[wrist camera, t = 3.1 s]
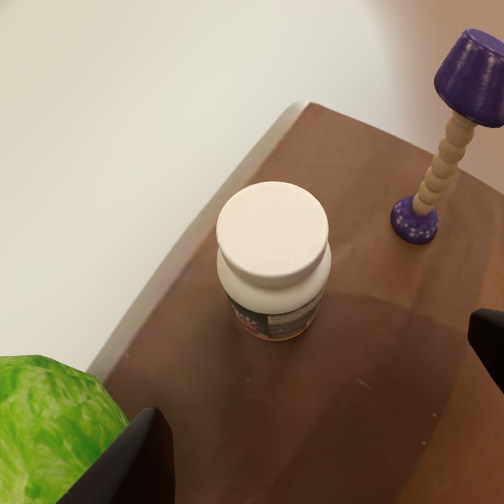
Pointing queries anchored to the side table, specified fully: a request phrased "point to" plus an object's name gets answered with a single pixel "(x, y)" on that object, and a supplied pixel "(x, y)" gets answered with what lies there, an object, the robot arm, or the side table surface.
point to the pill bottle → (273, 258)
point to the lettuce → (50, 427)
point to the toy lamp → (456, 125)
